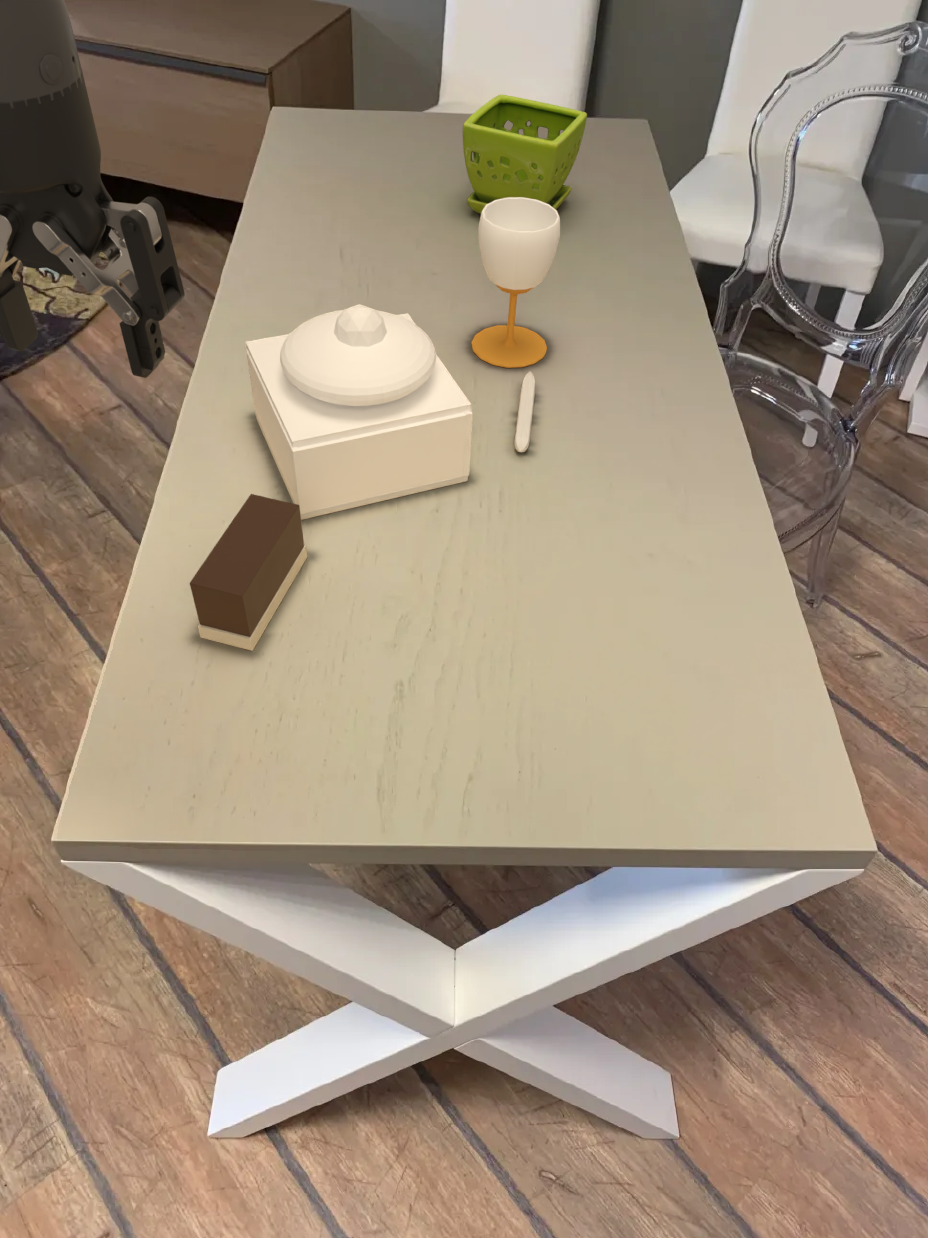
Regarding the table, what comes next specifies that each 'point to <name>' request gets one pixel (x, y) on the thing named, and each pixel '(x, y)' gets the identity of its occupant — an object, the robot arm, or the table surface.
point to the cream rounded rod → (525, 413)
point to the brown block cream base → (249, 572)
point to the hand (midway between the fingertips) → (85, 357)
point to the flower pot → (521, 150)
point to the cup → (515, 272)
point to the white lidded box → (358, 410)
